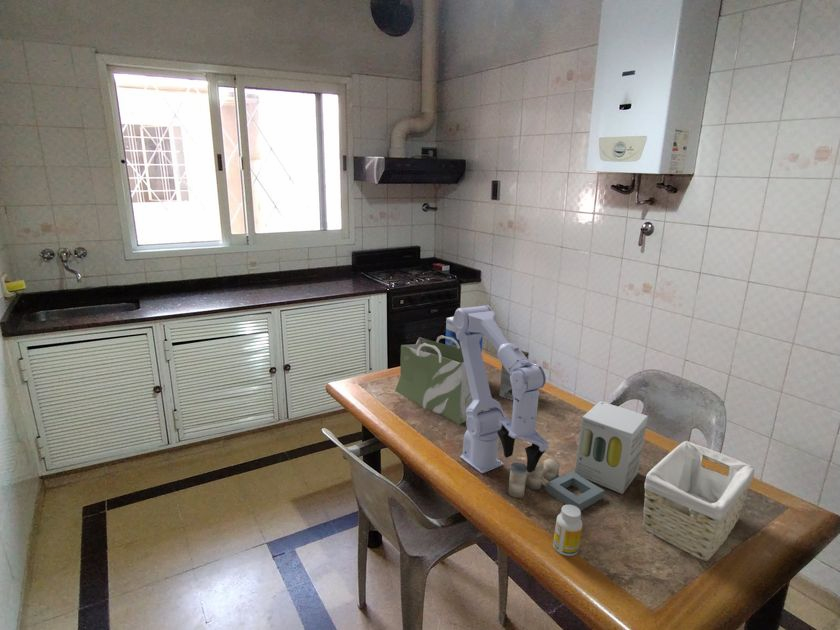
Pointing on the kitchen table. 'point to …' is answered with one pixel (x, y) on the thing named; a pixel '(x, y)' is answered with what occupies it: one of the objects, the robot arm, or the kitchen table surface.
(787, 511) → the kitchen table surface
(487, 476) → the kitchen table surface
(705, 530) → the storage basket
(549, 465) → the short pin
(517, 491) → the long pin
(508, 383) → the coffee box
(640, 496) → the kitchen table surface
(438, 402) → the grocery bag
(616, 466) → the supplement box
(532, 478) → the medium pin
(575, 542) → the supplement bottle
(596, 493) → the collar block
